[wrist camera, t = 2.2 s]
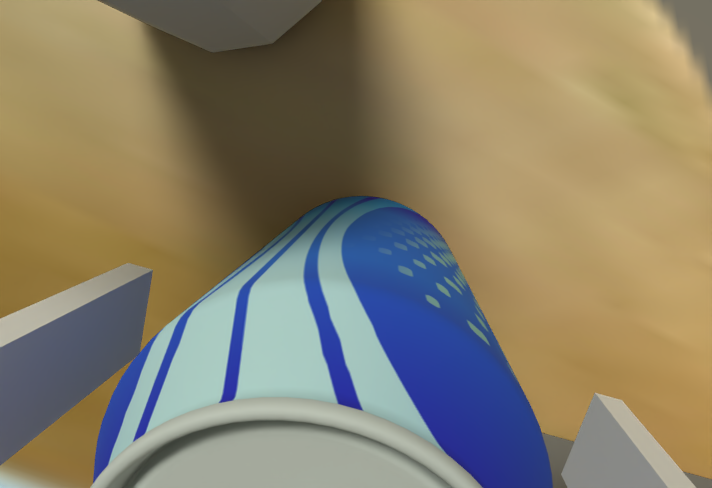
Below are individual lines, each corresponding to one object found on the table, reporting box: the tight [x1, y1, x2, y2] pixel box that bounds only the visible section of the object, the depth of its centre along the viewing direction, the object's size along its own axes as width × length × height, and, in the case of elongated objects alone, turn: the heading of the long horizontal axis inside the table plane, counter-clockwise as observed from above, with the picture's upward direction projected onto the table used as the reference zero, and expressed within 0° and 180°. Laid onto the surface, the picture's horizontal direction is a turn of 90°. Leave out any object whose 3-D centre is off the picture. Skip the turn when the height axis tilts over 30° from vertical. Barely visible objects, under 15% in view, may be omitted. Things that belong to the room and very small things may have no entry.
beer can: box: [91, 196, 553, 488], centre depth 14 cm, size 8×8×16 cm
